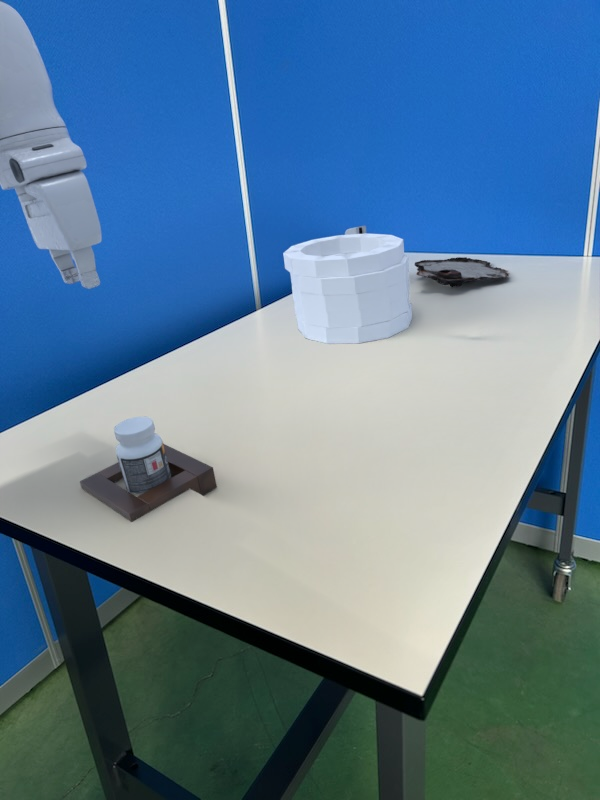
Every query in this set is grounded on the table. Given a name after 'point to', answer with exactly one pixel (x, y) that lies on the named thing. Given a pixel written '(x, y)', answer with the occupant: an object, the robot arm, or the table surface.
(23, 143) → the robot arm
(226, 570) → the table surface
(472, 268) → the scrap metal
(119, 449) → the pill bottle
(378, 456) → the table surface
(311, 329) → the container
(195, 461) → the frame
